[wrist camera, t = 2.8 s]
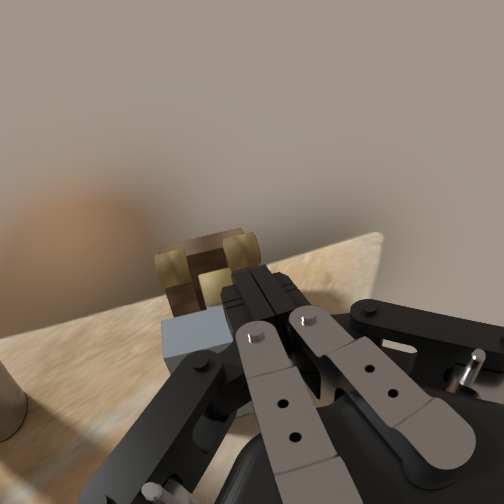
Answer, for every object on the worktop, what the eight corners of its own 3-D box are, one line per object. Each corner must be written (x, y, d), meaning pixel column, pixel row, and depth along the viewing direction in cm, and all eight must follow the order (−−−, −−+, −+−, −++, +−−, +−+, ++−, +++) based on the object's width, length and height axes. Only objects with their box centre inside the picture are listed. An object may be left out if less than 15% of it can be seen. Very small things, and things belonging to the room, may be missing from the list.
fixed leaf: (183, 348, 32) (154, 264, 27) (177, 308, 39) (155, 233, 34) (269, 325, 34) (258, 239, 29) (250, 289, 41) (238, 214, 36)
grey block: (197, 426, 22) (155, 339, 18) (185, 364, 29) (154, 278, 25) (307, 394, 24) (306, 299, 20) (277, 340, 31) (267, 250, 26)
